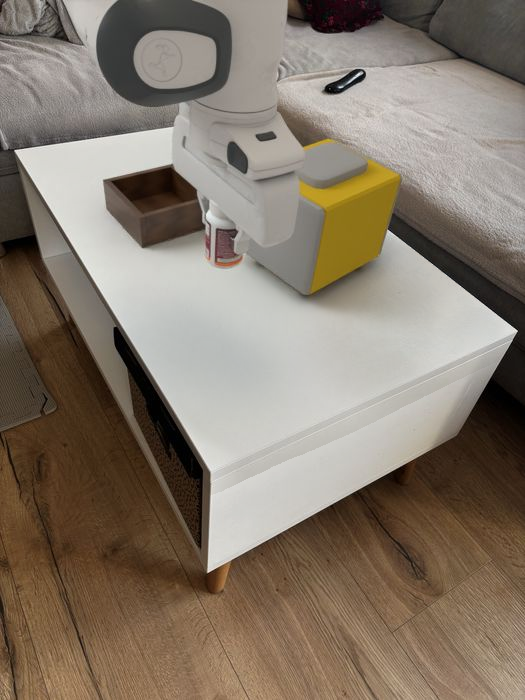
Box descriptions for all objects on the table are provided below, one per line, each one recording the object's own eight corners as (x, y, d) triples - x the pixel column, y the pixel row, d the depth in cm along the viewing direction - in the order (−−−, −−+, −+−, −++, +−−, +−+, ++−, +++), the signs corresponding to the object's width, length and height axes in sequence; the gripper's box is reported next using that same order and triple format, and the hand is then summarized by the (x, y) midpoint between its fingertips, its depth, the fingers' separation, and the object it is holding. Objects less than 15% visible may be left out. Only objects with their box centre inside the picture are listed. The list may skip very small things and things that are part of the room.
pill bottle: (249, 257, 69) (255, 197, 63) (228, 275, 66) (232, 214, 60) (219, 243, 71) (222, 183, 65) (196, 259, 68) (198, 199, 62)
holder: (142, 248, 92) (139, 218, 88) (106, 208, 100) (102, 179, 96) (212, 226, 99) (213, 198, 95) (173, 191, 106) (173, 163, 102)
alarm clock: (314, 223, 103) (332, 126, 90) (380, 264, 96) (410, 164, 83) (236, 259, 93) (243, 155, 80) (302, 308, 85) (322, 202, 72)
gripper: (156, 91, 61) (160, 203, 70) (264, 173, 50) (251, 291, 59) (205, 84, 64) (202, 192, 73) (317, 160, 53) (296, 274, 62)
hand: (224, 237), depth 66 cm, fingers closed on pill bottle, 5 cm apart
